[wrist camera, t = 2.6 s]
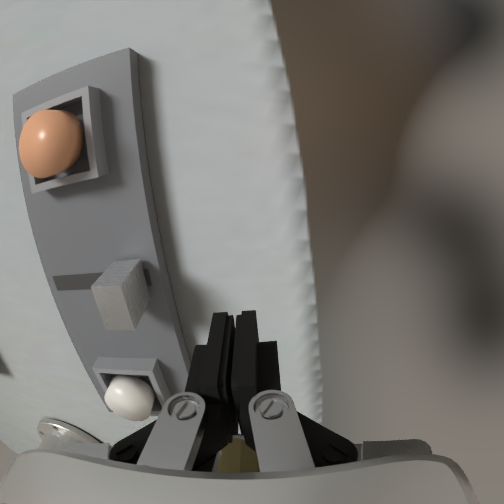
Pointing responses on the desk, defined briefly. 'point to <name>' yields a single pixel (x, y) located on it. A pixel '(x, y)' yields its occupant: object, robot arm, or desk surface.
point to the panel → (104, 224)
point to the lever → (122, 295)
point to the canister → (238, 457)
